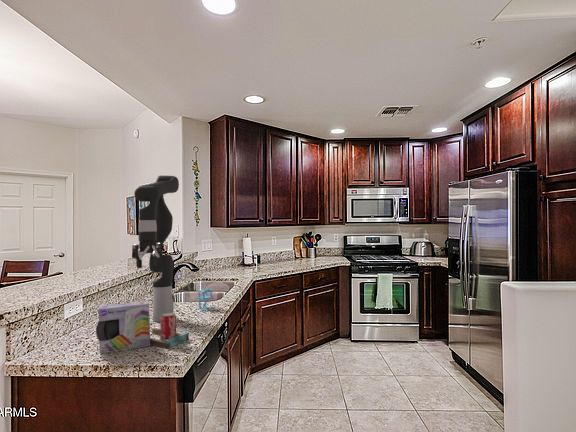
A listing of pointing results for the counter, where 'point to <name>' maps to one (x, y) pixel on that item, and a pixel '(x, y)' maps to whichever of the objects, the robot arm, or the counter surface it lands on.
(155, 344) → the guide channel
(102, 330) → the cake pan box
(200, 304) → the light blue translucent piece
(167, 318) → the beverage can
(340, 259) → the counter surface
